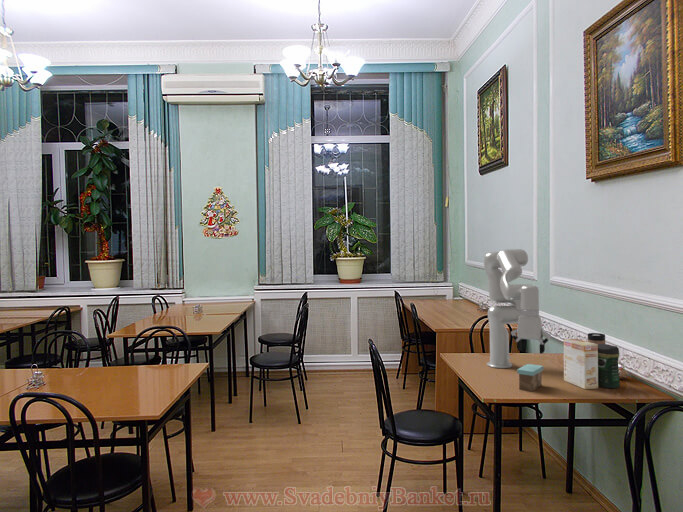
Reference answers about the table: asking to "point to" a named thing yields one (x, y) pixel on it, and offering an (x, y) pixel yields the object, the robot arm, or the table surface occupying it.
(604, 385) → the coffee jar
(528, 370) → the lid
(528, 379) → the tea box
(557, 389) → the table surface
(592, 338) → the travel mug
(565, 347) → the coffeecake box
